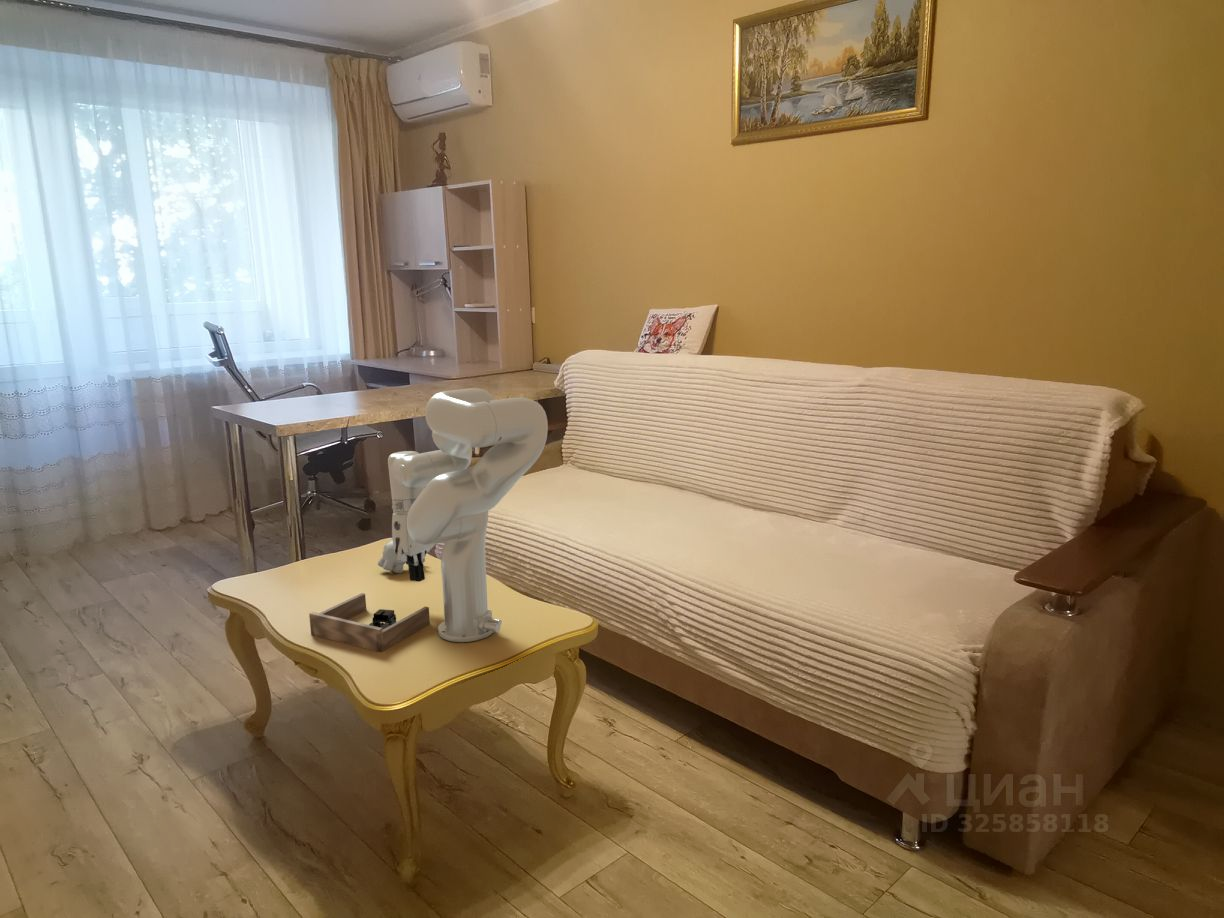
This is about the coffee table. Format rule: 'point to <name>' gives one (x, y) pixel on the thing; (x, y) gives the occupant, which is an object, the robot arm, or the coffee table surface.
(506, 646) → the coffee table surface
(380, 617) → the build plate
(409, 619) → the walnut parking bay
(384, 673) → the coffee table surface
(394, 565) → the white animal figurine
